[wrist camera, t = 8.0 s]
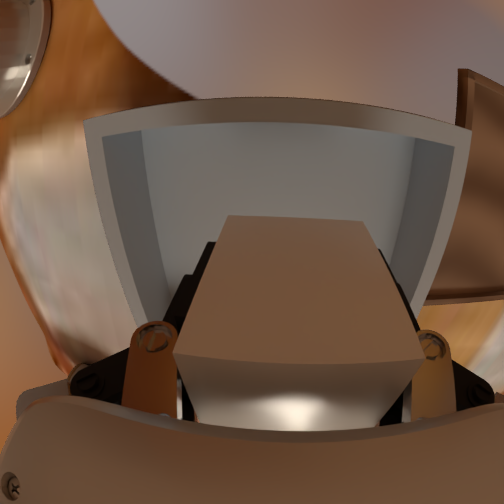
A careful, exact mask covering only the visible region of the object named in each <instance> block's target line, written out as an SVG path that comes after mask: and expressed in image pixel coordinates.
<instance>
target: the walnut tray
mask: <svg viewBox="0 0 504 504" xmlns="http://www.w3.org/2000/svg"><path fill="white" fill-rule="evenodd" d="M455 125H456V126H459V127H462V128H465V129H468V130H471V131H472V136H471V144H470V151H469V157H468V163H467V168H466V173H465V178H464V183H463V187H462V192H461V196H460V200H459V204H458V208H457V212H456V215H455V219H454V222H453V226H452V229H451V232H450V236H449V239H448V242H447V245H446V248H445V251H444V254H443V256H442V259H441V262H440V265H439V267H438V270H437V273H436V275H435V278H434V280H433V283H432V285H431V288H430V290H429V292H428V295H427V297H426V299H425V301H424V304H423V306H427V305H444V304H459V303H471V302H483V301H493V300H503V299H504V86H502V85H500V84H498V83H496V82H494V81H492V80H491V79H488V78H486V77H485V76H482V75H480V74H478V73H476V72H474V71H472V70H469V69H458V88H457V107H456V119H455Z"/></svg>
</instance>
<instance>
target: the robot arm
mask: <svg viewBox="0 0 504 504" xmlns="http://www.w3.org/2000/svg"><path fill="white" fill-rule="evenodd" d="M50 22H51V6H50V0H0V118H2V117H4V116H6V115H8V114H9V113H10V112H12V111H13V110H14V109H15V108H16V107H17V106H18V104H19V103H20V102H21V101H22V99H23V98H24V96H25V94H26V93H27V91H28V90H29V88H30V86H31V84H32V82H33V80H34V78H35V76H36V73H37V71H38V68H39V66H40V64H41V61H42V57H43V54H44V51H45V48H46V44H47V40H48V36H49V29H50ZM215 244H216V242H210V241H209V242H207V244H206V246H205V248H204V251H203V253H202V255H201V257H200V259H199V261H198V263H197V266H196V268H195V270H194V272H193V274H185V275H184V276H183V278H182V280H181V282H180V284H179V286H178V288H177V290H176V292H175V295H174V297H173V299H172V301H171V303H170V305H169V307H168V309H167V311H166V314H165V316H164V318H163V320H162V321H151V322H148V323H145V324H143V325H141V326H140V327H139V328H137V329H136V331H135V332H134V333H133V335H132V338H131V343H130V347H129V348H127V349H125V350H123V351H120V352H118V353H116V354H114V355H112V356H109V357H107V358H105V359H103V360H101V361H98V362H96V363H94V364H92V365H89V366H87V367H85V368H83V369H81V370H80V371H78V372H77V373H76V374H75V375H74V376H73V378H72V380H71V381H68V380H67V379H64V380H61V381H57V382H54V383H51V384H48V385H44V386H40V387H36V388H33V389H29V390H26V391H24V392H23V393H22V394H21V395H20V396H19V398H18V400H17V405H16V415H17V422H16V423H15V425H14V427H13V428H12V430H11V432H10V434H9V436H8V438H7V440H6V442H5V445H4V447H3V449H2V452H1V454H0V504H504V395H502V394H500V393H498V392H496V393H495V394H494V392H493V389H492V387H491V386H490V384H489V383H488V382H486V381H485V380H484V379H482V378H480V377H479V376H477V375H476V374H474V373H472V372H471V371H469V370H468V369H466V368H464V367H463V366H461V365H460V364H458V363H456V362H455V361H453V360H452V359H451V352H450V347H449V344H448V342H447V341H446V339H445V338H444V337H443V336H441V335H440V334H439V333H437V332H435V331H431V330H420V327H419V325H418V323H417V320H416V318H415V316H414V313H413V311H412V309H411V307H410V304H409V302H408V300H407V298H406V296H405V294H404V291H403V289H402V287H401V285H400V284H399V283H397V281H396V279H395V277H394V275H393V273H392V271H391V269H390V267H389V265H388V263H387V261H386V259H385V257H384V255H383V253H382V251H381V250H380V249H378V250H379V252H380V254H381V256H382V258H383V260H384V262H385V264H386V266H387V268H388V270H389V272H390V274H391V277H392V279H393V281H394V283H395V285H396V287H397V289H398V292H399V294H400V296H401V298H402V300H403V303H404V305H405V307H406V310H407V312H408V314H409V317H410V319H411V321H412V324H413V326H414V329H415V331H416V334H417V336H418V339H419V342H420V344H421V347H422V350H423V352H424V355H425V360H424V362H423V363H422V365H421V366H420V368H419V369H418V371H417V372H416V374H415V375H414V376H413V378H412V379H411V381H410V382H409V384H408V385H407V386H406V388H405V389H404V390H403V392H402V393H401V395H400V396H399V397H398V398H397V400H396V401H395V402H394V404H393V405H392V406H391V407H390V409H389V410H388V411H387V412H386V414H385V415H384V416H383V417H382V418H381V420H380V421H379V422H378V423H377V424H376V425H375V427H370V428H360V429H348V430H330V431H276V430H258V429H245V428H235V427H226V426H218V425H210V424H204V423H198V422H197V415H196V412H195V410H194V408H193V405H192V403H191V400H190V398H189V395H188V393H187V390H186V388H185V385H184V383H183V380H182V378H181V375H180V372H179V370H178V367H177V364H176V361H175V359H174V356H173V353H172V352H173V350H174V347H175V344H176V342H177V339H178V337H179V334H180V331H181V329H182V326H183V323H184V321H185V318H186V316H187V313H188V311H189V308H190V306H191V303H192V301H193V298H194V295H195V293H196V291H197V288H198V286H199V283H200V281H201V278H202V276H203V273H204V271H205V268H206V266H207V264H208V261H209V259H210V256H211V254H212V251H213V249H214V247H215Z"/></svg>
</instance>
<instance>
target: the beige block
mask: <svg viewBox="0 0 504 504" xmlns="http://www.w3.org/2000/svg"><path fill="white" fill-rule="evenodd" d="M172 353H173V356H174V359H175V361H176V364H177V367H178V370H179V372H180V375H181V378H182V380H183V383H184V385H185V388H186V390H187V393H188V395H189V398H190V400H191V403H192V405H193V408H194V410H195V412H196V415H197V417H198V419H199V421H200V423H204V424H210V425H218V426H226V427H235V428H245V429H258V430H276V431H330V430H348V429H360V428H370V427H375V425H376V424H377V423H378V422H379V421H380V420H381V418H382V417H383V416H384V415H385V414H386V412H387V411H388V410H389V409H390V407H391V406H392V405H393V404H394V402H395V401H396V400H397V398H398V397H399V396H400V395H401V393H402V392H403V390H404V389H405V388H406V386H407V385H408V384H409V382H410V381H411V379H412V378H413V376H414V375H415V374H416V372H417V371H418V369H419V368H420V366H421V365H422V363H423V362H424V360H425V355H424V352H423V350H422V347H421V344H420V342H419V339H418V336H417V334H416V331H415V329H414V326H413V324H412V321H411V319H410V317H409V314H408V312H407V310H406V307H405V305H404V303H403V300H402V298H401V296H400V294H399V292H398V289H397V287H396V285H395V283H394V281H393V279H392V277H391V274H390V272H389V270H388V268H387V266H386V264H385V262H384V260H383V258H382V256H381V254H380V252H379V250H378V248H377V247H376V245H375V243H374V241H373V239H372V237H371V235H370V233H369V232H368V230H367V228H366V226H365V224H364V223H363V221H351V220H335V219H317V218H296V217H271V216H238V215H228V216H227V219H226V221H225V223H224V226H223V228H222V230H221V233H220V235H219V237H218V240H217V242H216V244H215V247H214V249H213V251H212V254H211V256H210V259H209V261H208V264H207V266H206V268H205V271H204V273H203V276H202V278H201V281H200V283H199V286H198V288H197V291H196V293H195V295H194V298H193V301H192V303H191V306H190V308H189V311H188V313H187V316H186V318H185V321H184V323H183V326H182V329H181V331H180V334H179V337H178V339H177V342H176V344H175V347H174V350H173V352H172Z"/></svg>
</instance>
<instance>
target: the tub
mask: <svg viewBox="0 0 504 504" xmlns="http://www.w3.org/2000/svg"><path fill="white" fill-rule="evenodd" d="M83 123H84V131H85V139H86V145H87V152H88V158H89V164H90V169H91V174H92V180H93V184H94V189H95V194H96V198H97V203H98V207H99V211H100V215H101V219H102V223H103V227H104V230H105V234H106V238H107V241H108V245H109V248H110V251H111V255H112V258H113V261H114V264H115V267H116V270H117V273H118V276H119V279H120V282H121V285H122V288H123V291H124V294H125V296H126V299H127V302H128V304H129V307H130V310H131V312H132V315H133V317H134V320H135V322H136V325H137V327H138V328H139V327H140V326H141V325H143V324H145V323H148V322H151V321H162V320H163V318H164V316H165V314H166V311H167V309H168V307H169V305H170V303H171V301H172V299H173V297H174V295H175V292H176V290H177V288H178V286H179V284H180V282H181V280H182V278H183V276H184V275H185V274H193V272H194V270H195V268H196V266H197V263H198V261H199V259H200V257H201V255H202V253H203V251H204V248H205V246H206V244H207V242H209V241H210V242H217V240H218V237H219V235H220V233H221V230H222V228H223V226H224V223H225V221H226V219H227V216H228V215H238V216H271V217H296V218H317V219H335V220H351V221H363V223H364V224H365V226H366V228H367V230H368V232H369V233H370V235H371V237H372V239H373V241H374V243H375V245H376V247H377V248H378V249H380V250H381V251H382V253H383V255H384V257H385V259H386V261H387V263H388V265H389V267H390V269H391V271H392V273H393V275H394V277H395V279H396V281H397V283H399V284H400V285H401V287H402V289H403V291H404V294H405V296H406V298H407V300H408V302H409V304H410V307H411V309H412V311H413V313H414V316H415V318H416V319H417V317H418V315H419V312H420V310H421V308H422V306H423V304H424V301H425V299H426V297H427V295H428V292H429V290H430V288H431V285H432V283H433V280H434V278H435V275H436V273H437V270H438V267H439V265H440V262H441V259H442V256H443V254H444V251H445V248H446V245H447V242H448V239H449V236H450V232H451V229H452V226H453V222H454V219H455V215H456V212H457V208H458V204H459V200H460V196H461V192H462V187H463V183H464V178H465V173H466V168H467V163H468V157H469V151H470V144H471V136H472V131H471V130H468V129H465V128H462V127H459V126H456V125H453V124H450V123H446V122H443V121H439V120H436V119H432V118H429V117H425V116H421V115H417V114H413V113H408V112H404V111H399V110H394V109H389V108H383V107H377V106H371V105H364V104H358V103H350V102H342V101H332V100H321V99H308V98H288V97H233V98H214V99H200V100H190V101H180V102H172V103H164V104H157V105H151V106H145V107H139V108H133V109H128V110H124V111H119V112H115V113H110V114H106V115H102V116H98V117H94V118H91V119H87V120H83Z"/></svg>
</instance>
